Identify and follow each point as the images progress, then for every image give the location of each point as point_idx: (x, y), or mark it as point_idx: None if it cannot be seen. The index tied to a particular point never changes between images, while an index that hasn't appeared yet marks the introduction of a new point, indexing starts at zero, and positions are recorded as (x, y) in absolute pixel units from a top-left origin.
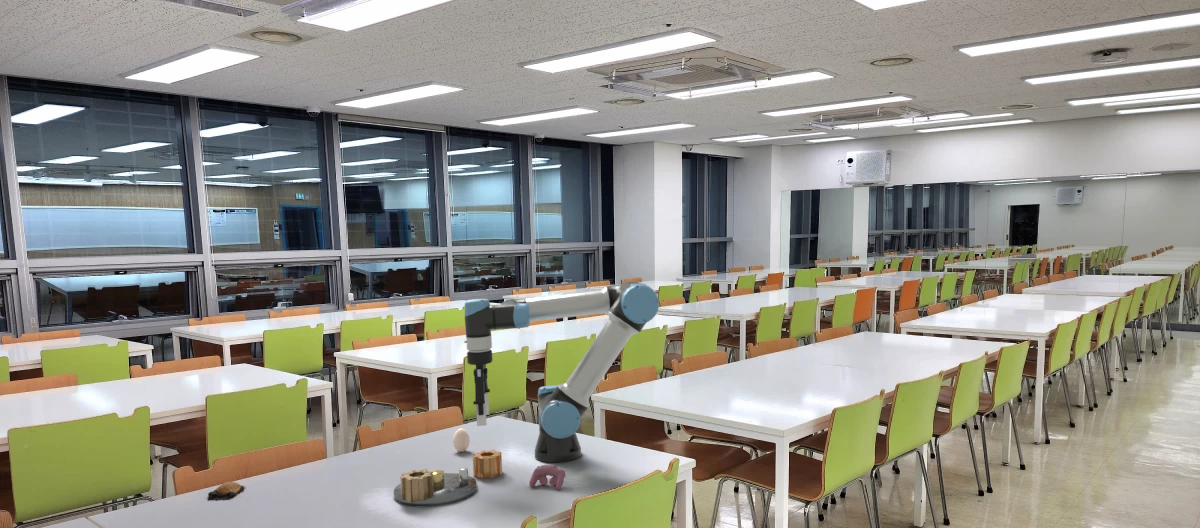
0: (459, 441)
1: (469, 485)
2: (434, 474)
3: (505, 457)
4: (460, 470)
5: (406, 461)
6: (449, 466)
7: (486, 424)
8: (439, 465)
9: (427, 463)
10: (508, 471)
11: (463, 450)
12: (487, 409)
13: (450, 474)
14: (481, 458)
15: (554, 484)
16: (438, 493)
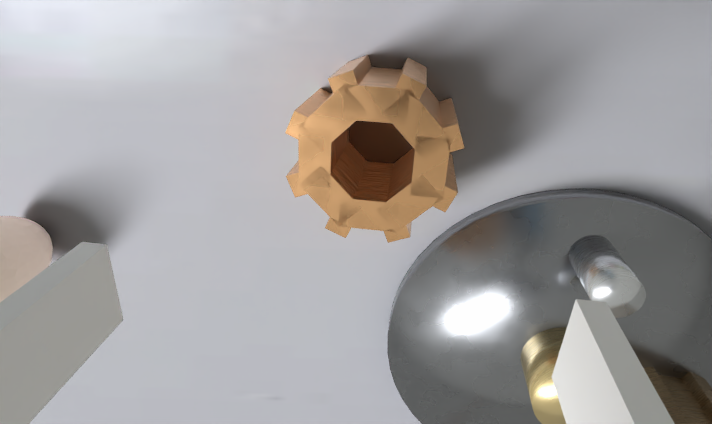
0: (29, 273)
1: (616, 231)
2: None
3: (124, 27)
4: (634, 311)
5: (162, 413)
6: (239, 286)
7: (592, 304)
8: (221, 319)
9: (191, 356)
10: (370, 16)
11: (46, 232)
12: (72, 283)
13: (417, 300)
14: (450, 198)
15: None
16: (663, 351)
